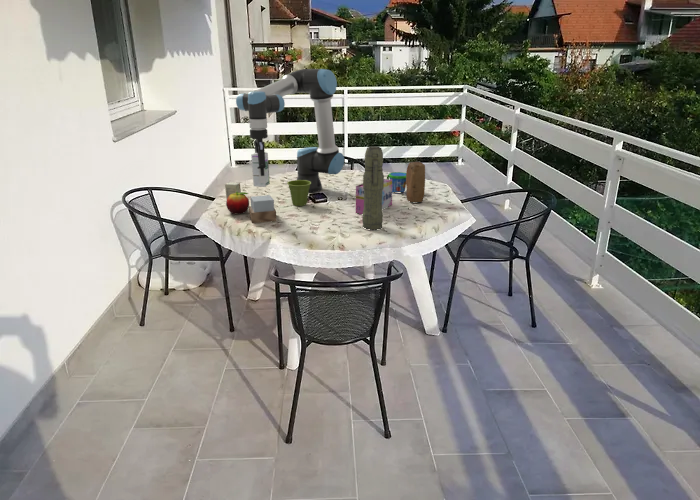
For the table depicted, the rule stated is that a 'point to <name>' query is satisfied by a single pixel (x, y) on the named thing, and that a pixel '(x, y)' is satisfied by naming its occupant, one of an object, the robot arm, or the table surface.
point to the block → (415, 182)
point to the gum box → (385, 196)
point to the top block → (262, 203)
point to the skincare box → (232, 188)
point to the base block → (262, 216)
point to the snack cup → (398, 181)
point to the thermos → (373, 188)
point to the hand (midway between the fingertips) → (261, 180)
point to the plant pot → (299, 191)
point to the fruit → (237, 203)
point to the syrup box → (256, 171)
